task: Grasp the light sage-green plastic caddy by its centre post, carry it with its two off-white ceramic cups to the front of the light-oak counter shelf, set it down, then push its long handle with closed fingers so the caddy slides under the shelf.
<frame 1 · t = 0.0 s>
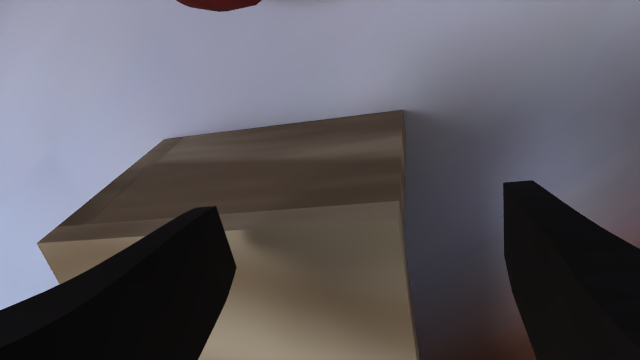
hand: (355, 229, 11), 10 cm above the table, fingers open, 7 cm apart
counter: (313, 282, 26), on the table
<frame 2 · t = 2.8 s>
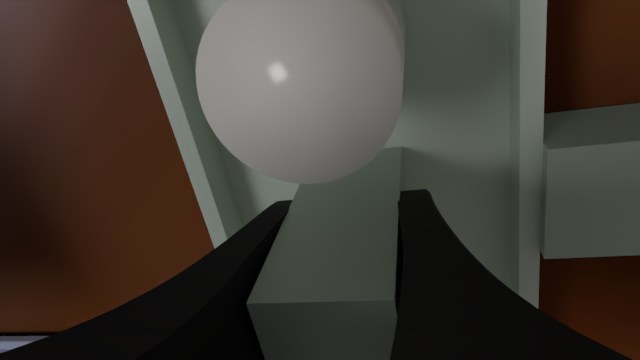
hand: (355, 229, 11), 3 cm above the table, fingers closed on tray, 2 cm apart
tray: (364, 180, 14), on the table, touching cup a, cup b, gripper
cup b: (336, 34, 11), point 1 cm above the table, touching tray
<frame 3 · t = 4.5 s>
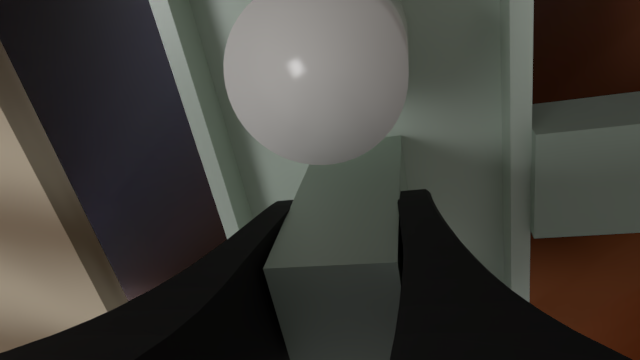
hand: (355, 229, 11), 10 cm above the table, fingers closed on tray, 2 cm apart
tray: (366, 169, 14), point 6 cm above the table, touching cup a, cup b, gripper
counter: (77, 124, 23), on the table
cup b: (343, 36, 12), point 7 cm above the table, touching tray
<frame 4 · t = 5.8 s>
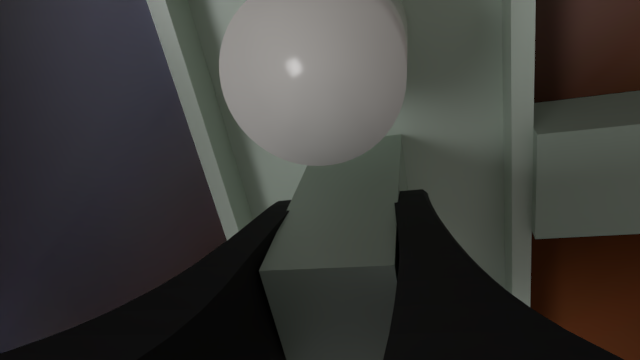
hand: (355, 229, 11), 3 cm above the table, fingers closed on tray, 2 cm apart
tray: (366, 167, 14), on the table, touching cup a, cup b, gripper
cup b: (342, 34, 12), point 1 cm above the table, touching tray
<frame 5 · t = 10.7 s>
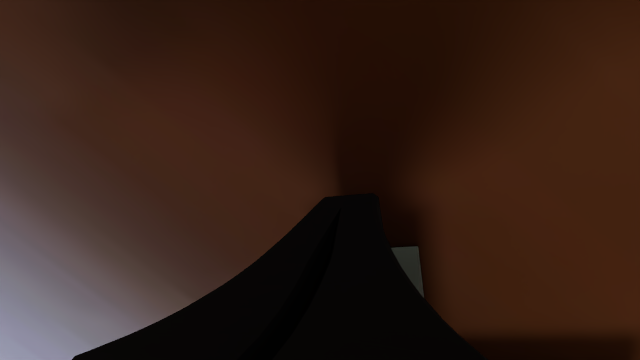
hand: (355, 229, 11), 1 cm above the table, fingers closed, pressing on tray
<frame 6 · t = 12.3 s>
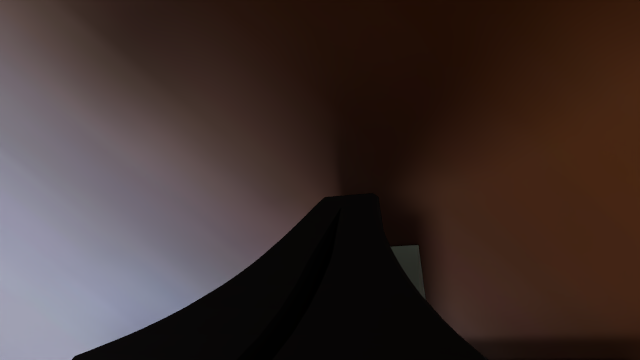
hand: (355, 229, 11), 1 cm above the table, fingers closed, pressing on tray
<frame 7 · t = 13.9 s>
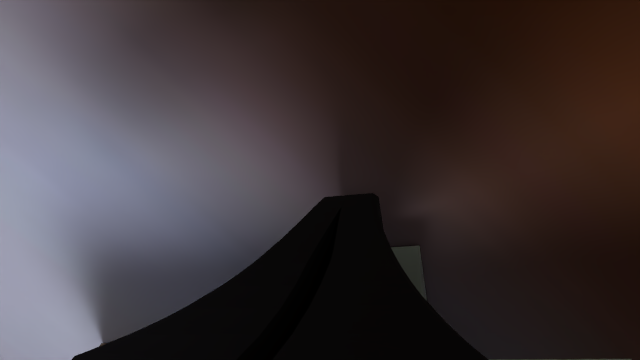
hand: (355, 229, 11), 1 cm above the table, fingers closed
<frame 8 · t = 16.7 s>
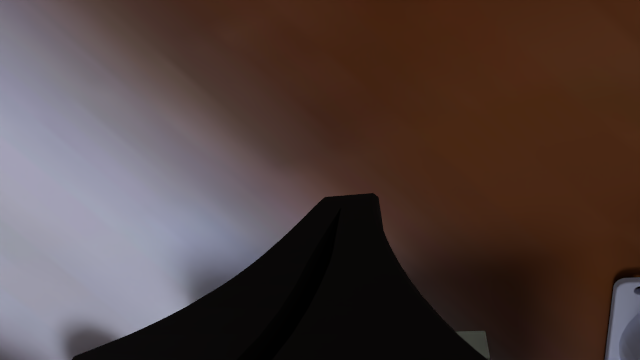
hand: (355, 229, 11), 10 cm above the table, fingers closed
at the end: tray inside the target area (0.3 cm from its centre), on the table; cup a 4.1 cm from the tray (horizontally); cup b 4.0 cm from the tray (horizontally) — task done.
